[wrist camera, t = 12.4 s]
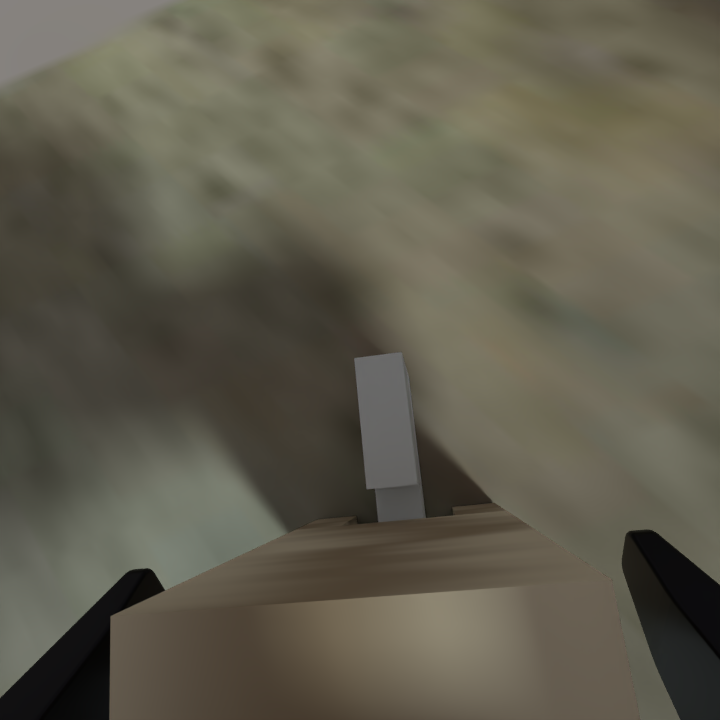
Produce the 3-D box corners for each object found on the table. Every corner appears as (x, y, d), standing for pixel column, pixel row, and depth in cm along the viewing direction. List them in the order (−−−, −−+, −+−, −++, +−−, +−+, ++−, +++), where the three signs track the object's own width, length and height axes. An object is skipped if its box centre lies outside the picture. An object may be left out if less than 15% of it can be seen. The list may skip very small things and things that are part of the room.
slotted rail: (452, 732, 16) (456, 813, 12) (406, 733, 16) (397, 813, 12) (408, 376, 19) (401, 351, 15) (370, 381, 19) (354, 358, 15)
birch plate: (494, 502, 17) (612, 579, 6) (503, 562, 17) (651, 774, 5) (317, 519, 18) (111, 616, 7) (321, 576, 18) (109, 787, 6)
